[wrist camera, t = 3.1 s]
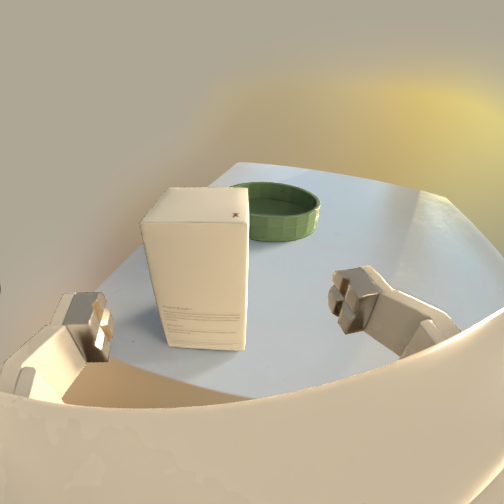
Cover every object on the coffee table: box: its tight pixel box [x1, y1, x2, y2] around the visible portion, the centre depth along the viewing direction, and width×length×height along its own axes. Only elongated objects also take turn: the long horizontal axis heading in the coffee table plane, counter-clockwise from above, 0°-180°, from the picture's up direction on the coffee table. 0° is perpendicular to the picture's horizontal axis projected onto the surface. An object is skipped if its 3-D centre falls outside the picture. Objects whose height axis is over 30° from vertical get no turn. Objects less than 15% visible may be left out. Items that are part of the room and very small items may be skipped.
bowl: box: [230, 182, 320, 242], centre depth 47 cm, size 17×17×4 cm
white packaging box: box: [139, 187, 249, 351], centre depth 23 cm, size 7×7×13 cm
